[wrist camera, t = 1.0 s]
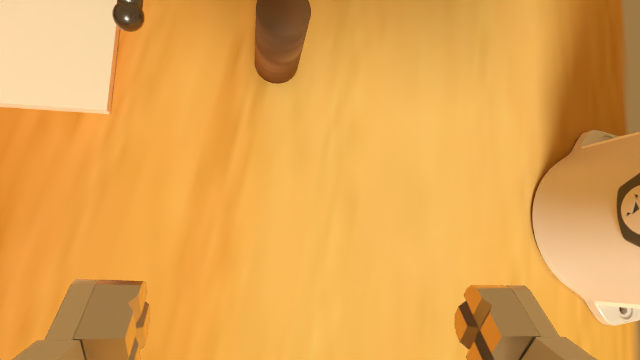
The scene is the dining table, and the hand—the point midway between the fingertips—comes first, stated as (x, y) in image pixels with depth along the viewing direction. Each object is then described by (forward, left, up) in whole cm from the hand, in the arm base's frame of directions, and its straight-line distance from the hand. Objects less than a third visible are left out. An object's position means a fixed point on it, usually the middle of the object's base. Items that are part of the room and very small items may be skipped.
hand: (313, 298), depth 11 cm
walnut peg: (0, -19, -27) cm, 33 cm away
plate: (+20, -19, -27) cm, 39 cm away
